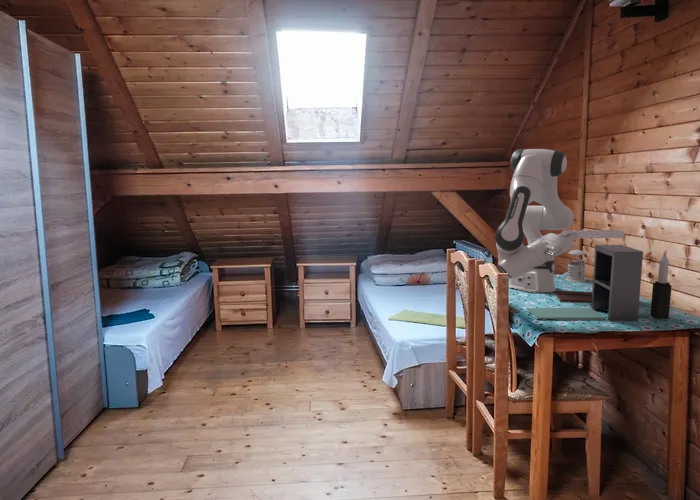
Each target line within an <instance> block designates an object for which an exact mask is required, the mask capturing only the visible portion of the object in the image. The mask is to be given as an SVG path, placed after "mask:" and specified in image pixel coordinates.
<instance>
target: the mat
mask: <svg viewBox="0 0 700 500" xmlns="http://www.w3.org/2000/svg"><path fill="white" fill-rule="evenodd" d="M525 309H527V310H528V311H529V312H530V313H531V314H532V315H534V316H535V317H536V318H537V319H561V320H560V321H605V320H606V317H605V315H602V314H601V313H599V312H597V310H593V309H591V307H526V308H525ZM528 311H527V312H528ZM529 312H528V313H529ZM530 313H529V314H530ZM531 314H530V315H531ZM532 315H531V316H532ZM562 319H563V320H562Z"/></svg>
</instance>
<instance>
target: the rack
mask: <svg viewBox="0 0 700 500" xmlns="http://www.w3.org/2000/svg"><path fill="white" fill-rule="evenodd" d="M643 256H644V251H643V250H639V249H637V248H633V247H629V246H627V245H623V244H595V245H594V259H593V260H594V261H593V273H592V274H593V275H592V290H591V292H592V303H590V304H591V307H590V308H591V309H593V310H594V311H608V314H607V320H608V322H638V321H639V309H640V296H641V293H640V292H641V283H642V271H643V258H644V257H643Z"/></svg>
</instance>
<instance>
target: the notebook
mask: <svg viewBox="0 0 700 500" xmlns="http://www.w3.org/2000/svg"><path fill="white" fill-rule="evenodd" d="M553 294H554V296H556V298H557V299H558V301H559V302H560V303H577V304H578V303H579V304H592V291H580V290H579V291H575V290H574V291H573V290H555V291H553Z"/></svg>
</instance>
